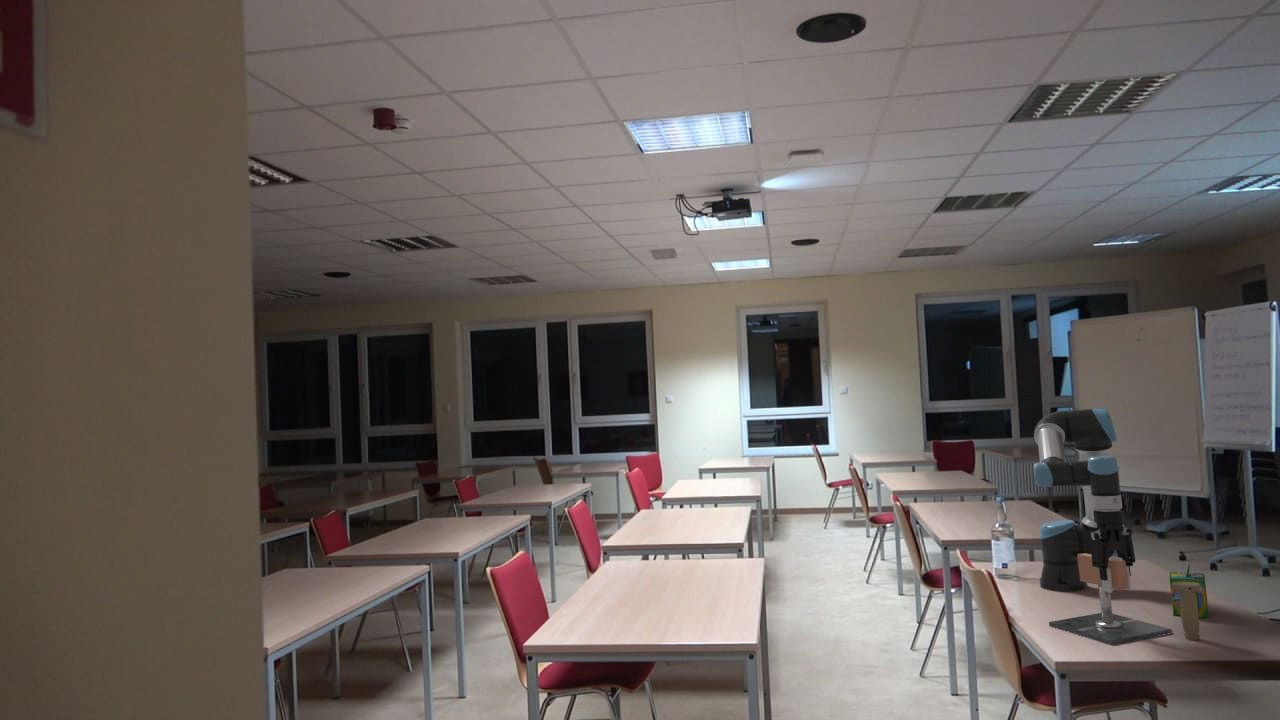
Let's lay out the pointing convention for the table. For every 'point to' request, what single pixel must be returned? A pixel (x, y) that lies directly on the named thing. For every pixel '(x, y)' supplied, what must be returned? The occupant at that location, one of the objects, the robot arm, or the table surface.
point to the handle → (1188, 608)
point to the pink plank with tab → (1093, 575)
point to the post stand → (1109, 625)
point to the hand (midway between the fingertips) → (1117, 589)
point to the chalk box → (1199, 595)
